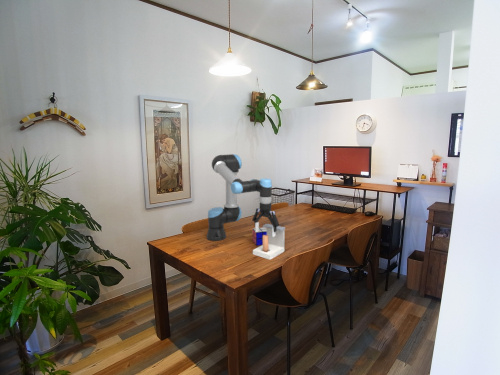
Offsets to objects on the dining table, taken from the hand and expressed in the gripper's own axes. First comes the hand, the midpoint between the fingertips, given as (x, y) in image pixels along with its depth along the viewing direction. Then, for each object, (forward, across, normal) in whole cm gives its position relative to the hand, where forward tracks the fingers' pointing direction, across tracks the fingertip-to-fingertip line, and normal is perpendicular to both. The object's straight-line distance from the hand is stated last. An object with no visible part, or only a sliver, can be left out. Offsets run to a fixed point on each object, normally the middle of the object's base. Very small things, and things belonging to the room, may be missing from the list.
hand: (265, 234), depth 180 cm
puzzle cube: (+15, -15, +15) cm, 26 cm away
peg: (+14, +1, 0) cm, 14 cm away
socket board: (+14, +1, +3) cm, 14 cm away
